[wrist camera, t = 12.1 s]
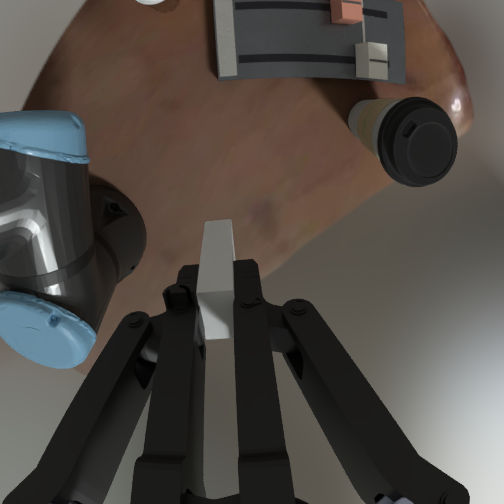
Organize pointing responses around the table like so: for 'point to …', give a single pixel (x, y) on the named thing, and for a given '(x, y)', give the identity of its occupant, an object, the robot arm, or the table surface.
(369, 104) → the coffee cup
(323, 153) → the table surface
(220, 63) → the console
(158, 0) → the milkshake
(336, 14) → the fader
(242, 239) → the table surface
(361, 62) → the fader
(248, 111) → the table surface
